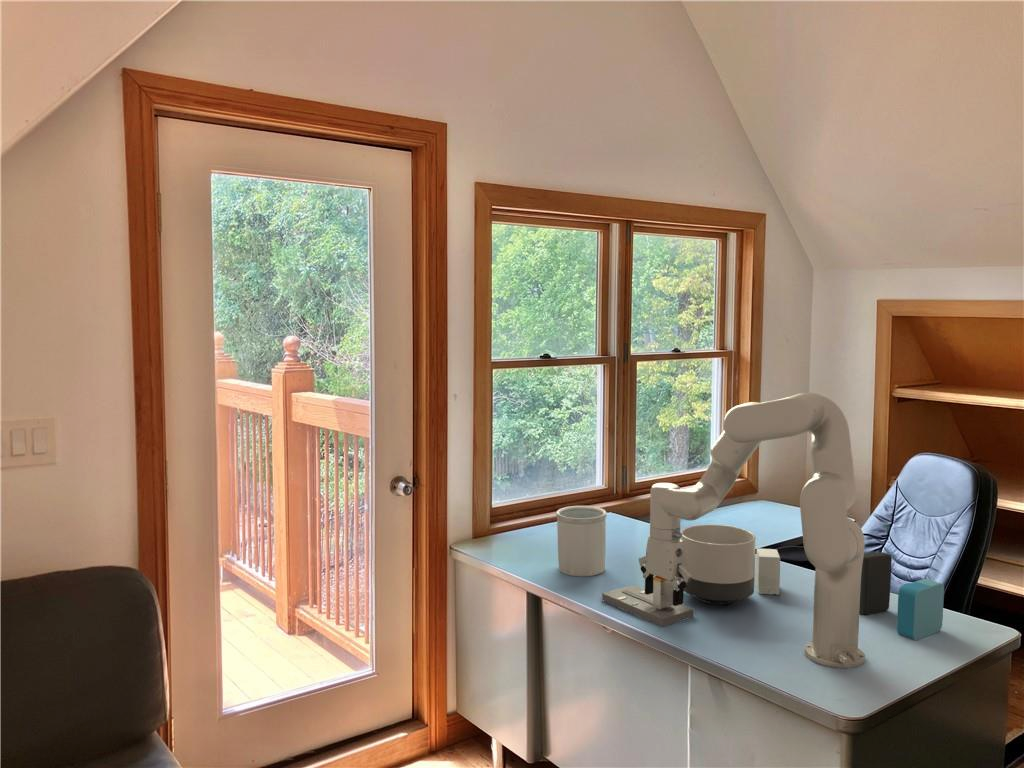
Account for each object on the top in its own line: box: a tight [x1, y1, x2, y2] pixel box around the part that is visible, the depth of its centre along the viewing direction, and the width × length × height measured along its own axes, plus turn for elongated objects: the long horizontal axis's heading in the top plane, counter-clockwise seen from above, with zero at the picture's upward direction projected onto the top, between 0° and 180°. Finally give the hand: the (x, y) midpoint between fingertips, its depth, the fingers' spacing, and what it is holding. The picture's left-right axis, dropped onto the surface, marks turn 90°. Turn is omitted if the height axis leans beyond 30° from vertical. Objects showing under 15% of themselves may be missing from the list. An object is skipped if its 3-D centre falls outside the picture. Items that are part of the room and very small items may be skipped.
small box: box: [755, 547, 781, 596], centre depth 229 cm, size 8×6×10 cm
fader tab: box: [653, 575, 675, 610], centre depth 210 cm, size 2×5×8 cm, turn 126°
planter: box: [680, 524, 756, 605], centre depth 222 cm, size 19×19×18 cm
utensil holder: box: [555, 505, 607, 577], centre depth 246 cm, size 15×15×18 cm
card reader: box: [859, 551, 893, 616], centre depth 213 cm, size 9×4×15 cm, turn 111°
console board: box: [601, 584, 695, 628], centre depth 216 cm, size 22×11×2 cm, turn 36°
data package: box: [896, 578, 945, 641], centre depth 199 cm, size 12×4×12 cm, turn 123°
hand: (663, 598), depth 211 cm, fingers open, 9 cm apart
